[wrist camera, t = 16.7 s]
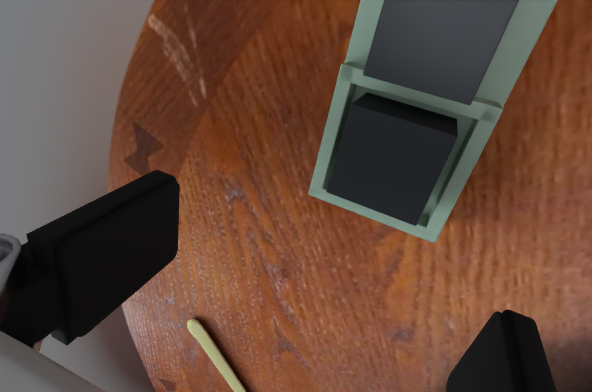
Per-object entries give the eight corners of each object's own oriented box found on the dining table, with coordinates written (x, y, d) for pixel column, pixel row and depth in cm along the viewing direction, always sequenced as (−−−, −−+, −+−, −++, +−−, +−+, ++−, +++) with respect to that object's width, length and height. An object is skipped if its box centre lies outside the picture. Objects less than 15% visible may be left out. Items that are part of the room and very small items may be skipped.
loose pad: (343, 170, 22) (325, 192, 19) (366, 91, 19) (351, 103, 16) (421, 198, 21) (415, 226, 18) (457, 118, 18) (458, 136, 15)
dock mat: (318, 179, 24) (292, 208, 20) (376, -42, 18) (354, -62, 14) (439, 224, 22) (435, 266, 18) (555, -7, 16) (589, -19, 12)
